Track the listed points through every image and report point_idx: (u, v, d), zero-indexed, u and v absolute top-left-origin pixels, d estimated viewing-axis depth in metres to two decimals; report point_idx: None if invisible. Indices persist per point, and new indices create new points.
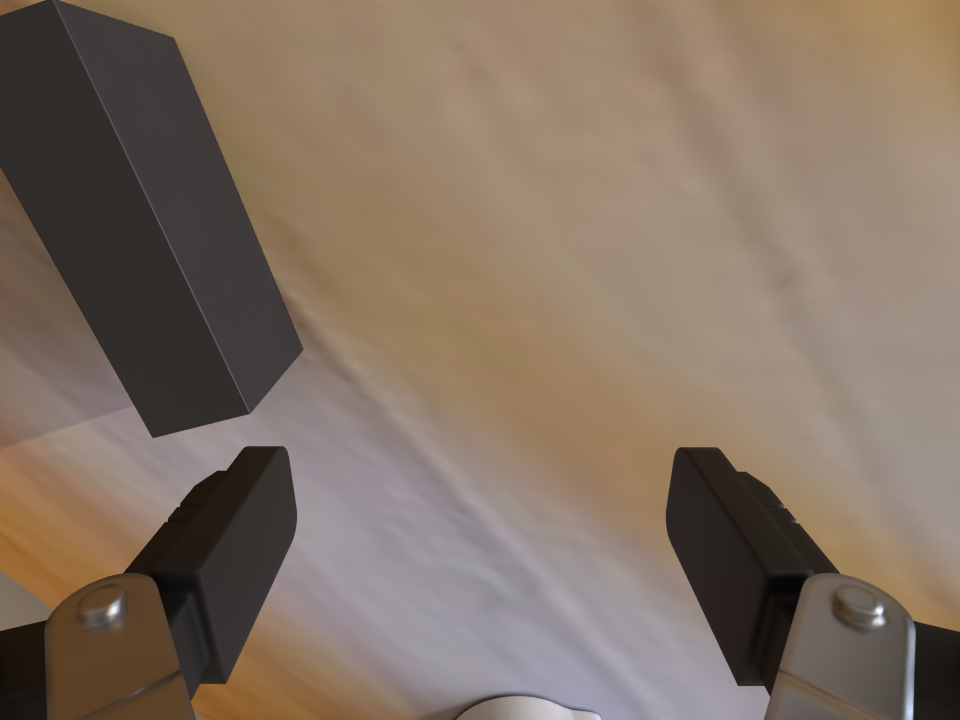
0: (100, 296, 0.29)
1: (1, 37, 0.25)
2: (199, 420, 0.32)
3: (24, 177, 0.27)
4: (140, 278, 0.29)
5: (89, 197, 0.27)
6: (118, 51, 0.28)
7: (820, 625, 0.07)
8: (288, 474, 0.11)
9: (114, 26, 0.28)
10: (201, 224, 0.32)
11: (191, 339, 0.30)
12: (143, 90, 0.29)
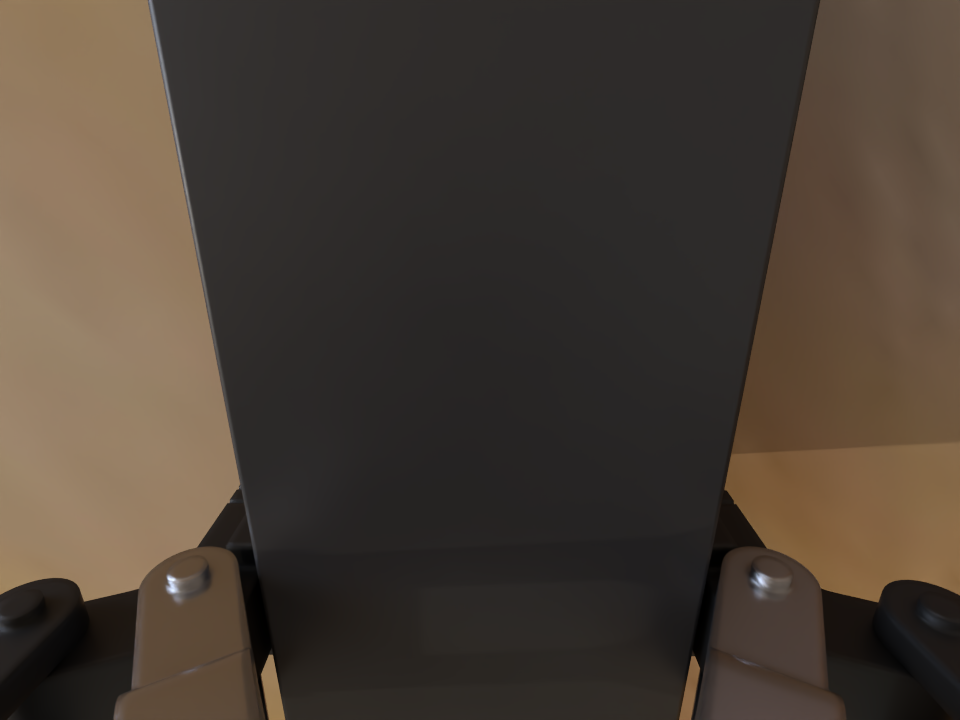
0: None
1: None
2: None
3: (657, 485, 0.07)
4: None
5: (451, 363, 0.06)
6: None
7: (741, 598, 0.07)
8: None
9: None
10: None
11: None
12: None
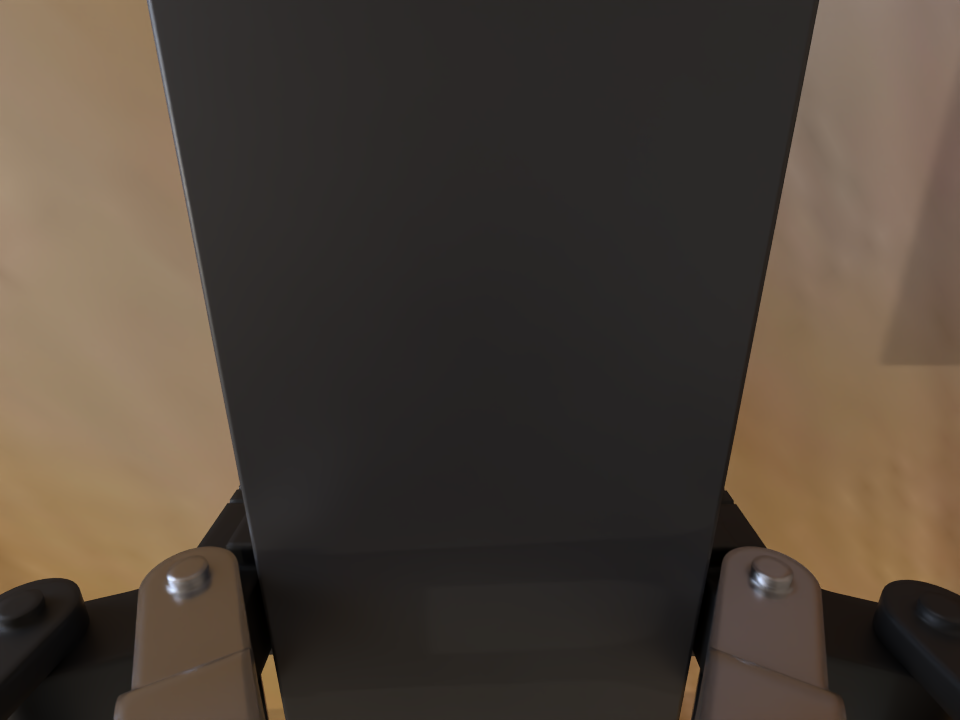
0: None
1: None
2: None
3: (657, 484, 0.07)
4: None
5: (451, 362, 0.06)
6: None
7: (741, 598, 0.07)
8: None
9: None
10: None
11: None
12: None
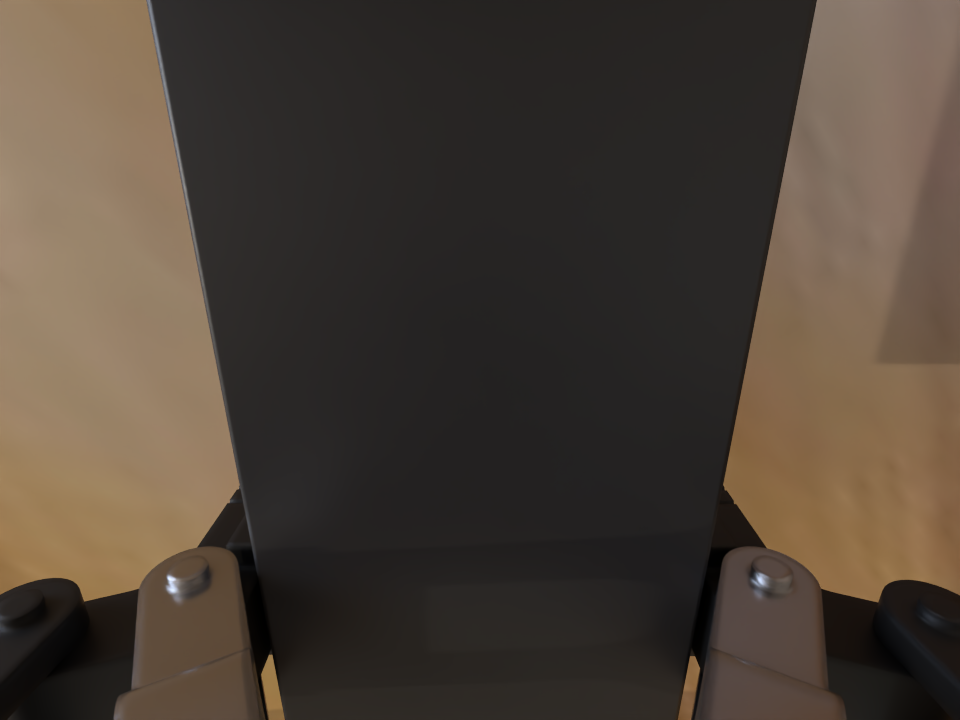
0: None
1: None
2: None
3: (656, 483, 0.07)
4: None
5: (449, 361, 0.06)
6: None
7: (741, 598, 0.07)
8: None
9: None
10: None
11: None
12: None
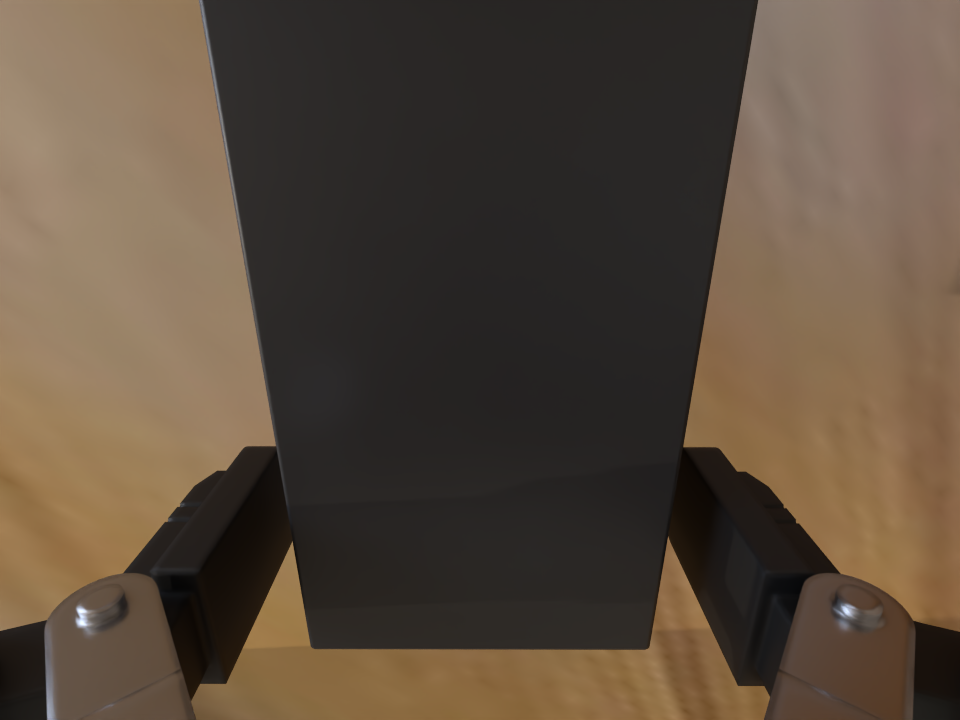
0: None
1: (473, 620, 0.10)
2: None
3: (641, 324, 0.08)
4: None
5: (449, 199, 0.07)
6: None
7: (820, 625, 0.07)
8: None
9: None
10: None
11: None
12: None
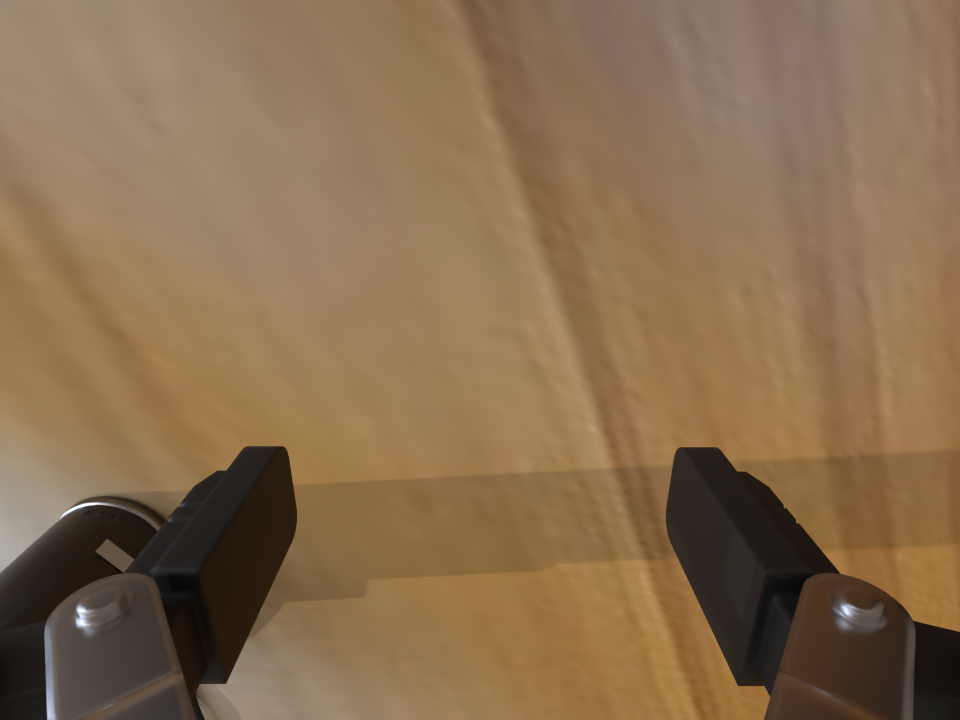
0: None
1: None
2: None
3: None
4: None
5: None
6: None
7: (820, 625, 0.07)
8: (288, 474, 0.11)
9: None
10: None
11: None
12: None
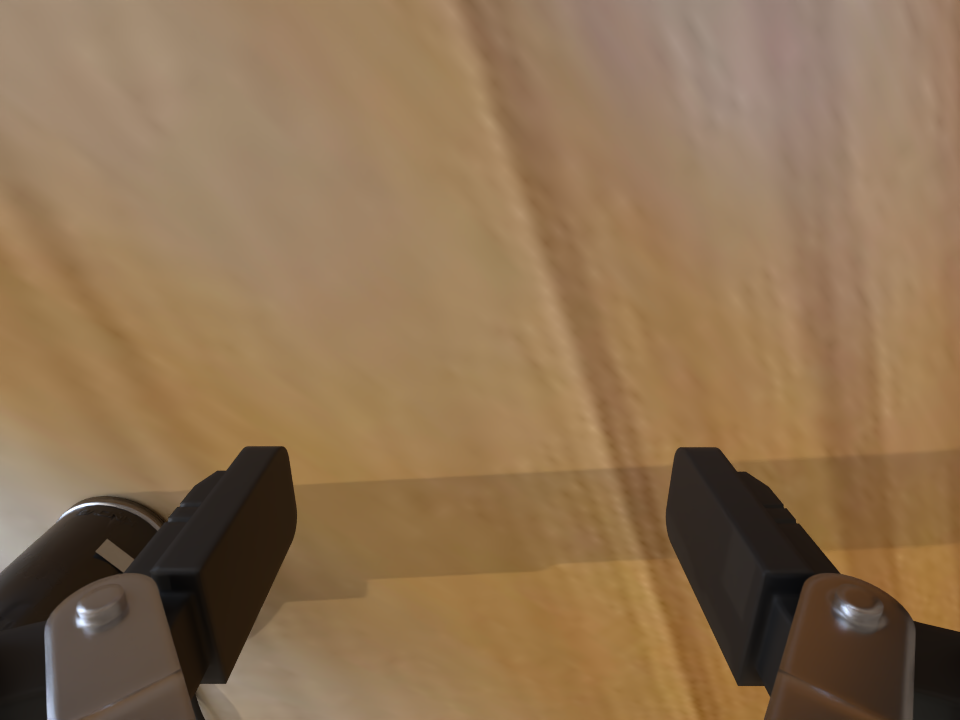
0: None
1: None
2: None
3: None
4: None
5: None
6: None
7: (820, 625, 0.07)
8: (288, 474, 0.11)
9: None
10: None
11: None
12: None
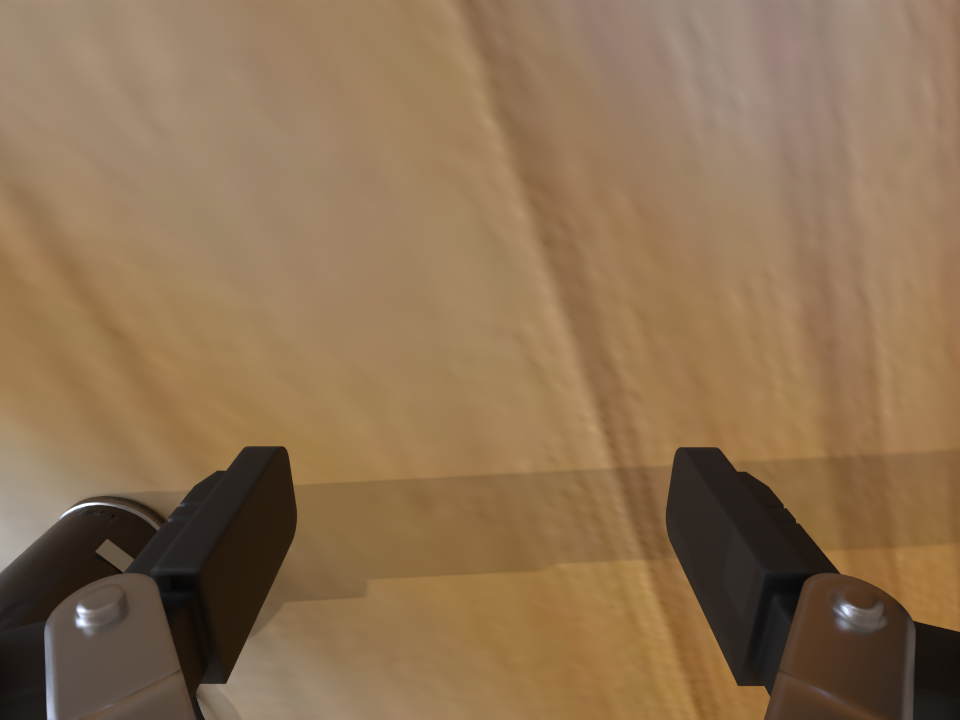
0: None
1: None
2: None
3: None
4: None
5: None
6: None
7: (820, 625, 0.07)
8: (288, 474, 0.11)
9: None
10: None
11: None
12: None
